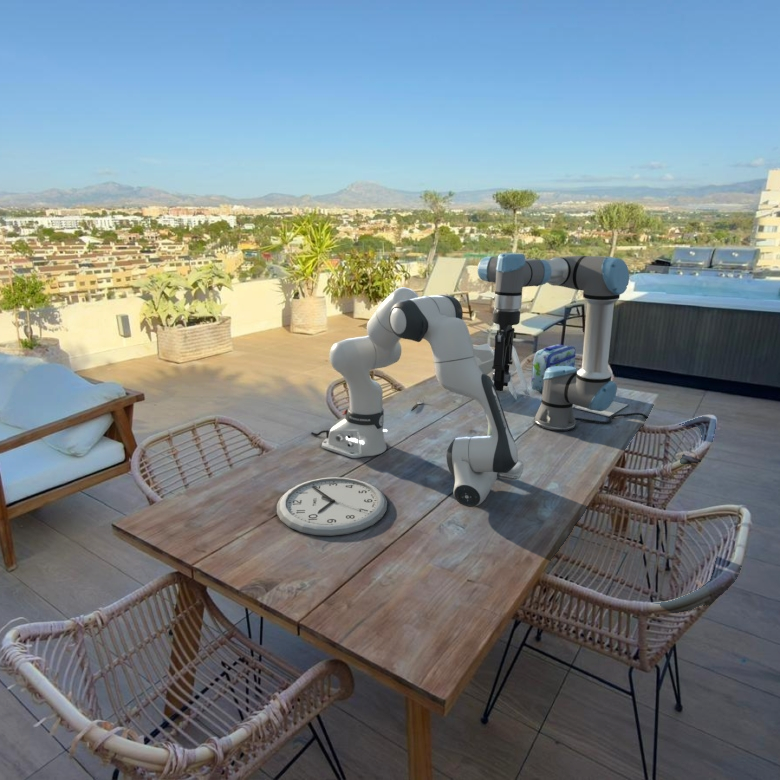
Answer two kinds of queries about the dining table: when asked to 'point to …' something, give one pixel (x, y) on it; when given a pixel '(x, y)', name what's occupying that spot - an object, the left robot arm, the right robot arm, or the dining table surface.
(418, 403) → the fork
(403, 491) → the dining table surface
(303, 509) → the wall clock
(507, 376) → the lid
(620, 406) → the invitation card
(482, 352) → the white plastic object
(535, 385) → the lunch box
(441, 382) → the left robot arm
